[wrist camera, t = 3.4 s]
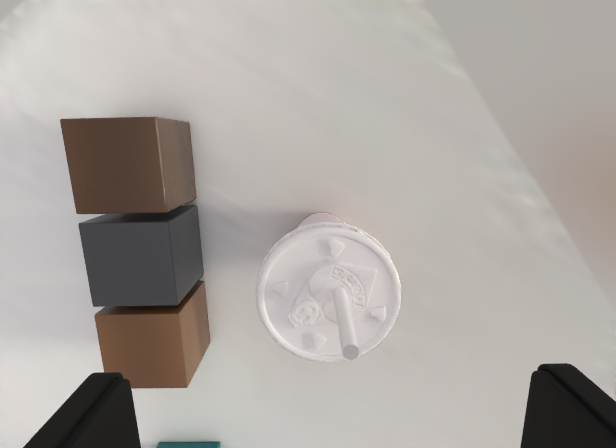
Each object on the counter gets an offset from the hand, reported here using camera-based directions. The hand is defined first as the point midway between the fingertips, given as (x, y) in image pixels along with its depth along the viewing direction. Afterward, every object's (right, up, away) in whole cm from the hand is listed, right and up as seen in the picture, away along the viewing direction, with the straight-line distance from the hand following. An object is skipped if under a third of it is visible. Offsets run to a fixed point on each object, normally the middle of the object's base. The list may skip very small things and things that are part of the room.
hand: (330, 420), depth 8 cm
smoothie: (0, +4, +16) cm, 17 cm away
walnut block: (-11, +9, +15) cm, 20 cm away
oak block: (-10, -2, +18) cm, 21 cm away
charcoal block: (-11, +3, +16) cm, 20 cm away
